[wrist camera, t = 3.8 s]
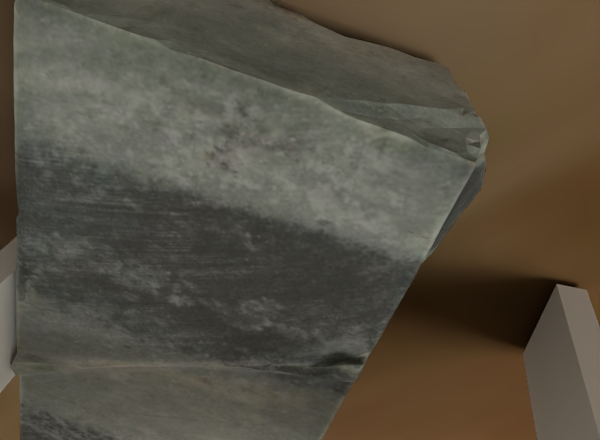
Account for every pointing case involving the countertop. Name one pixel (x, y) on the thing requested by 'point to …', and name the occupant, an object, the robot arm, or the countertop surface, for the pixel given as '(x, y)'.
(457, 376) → the countertop surface
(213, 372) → the stone block
